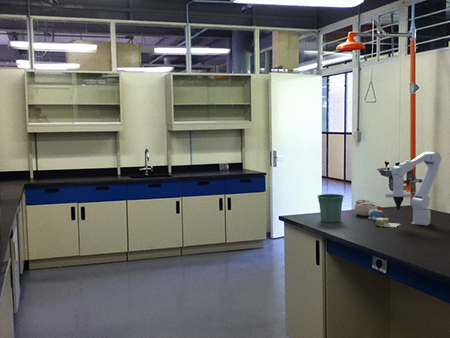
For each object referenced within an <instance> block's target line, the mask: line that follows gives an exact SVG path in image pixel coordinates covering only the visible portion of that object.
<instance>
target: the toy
mask: <svg viewBox="0 0 450 338" xmlns="http://www.w3.org/2000/svg"><path fill="white" fill-rule="evenodd" d="M375 203H376V202H375V201H373V200H365V199H357V200H356V201H355V205H354V211H355V213H356V214H358V215H359V216H363V217H368V219H369V220H372V221H373V220H374V221H376V218H383V217H382V216H383V213H384V209H383V207H382V206H380V205H375Z"/></svg>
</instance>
